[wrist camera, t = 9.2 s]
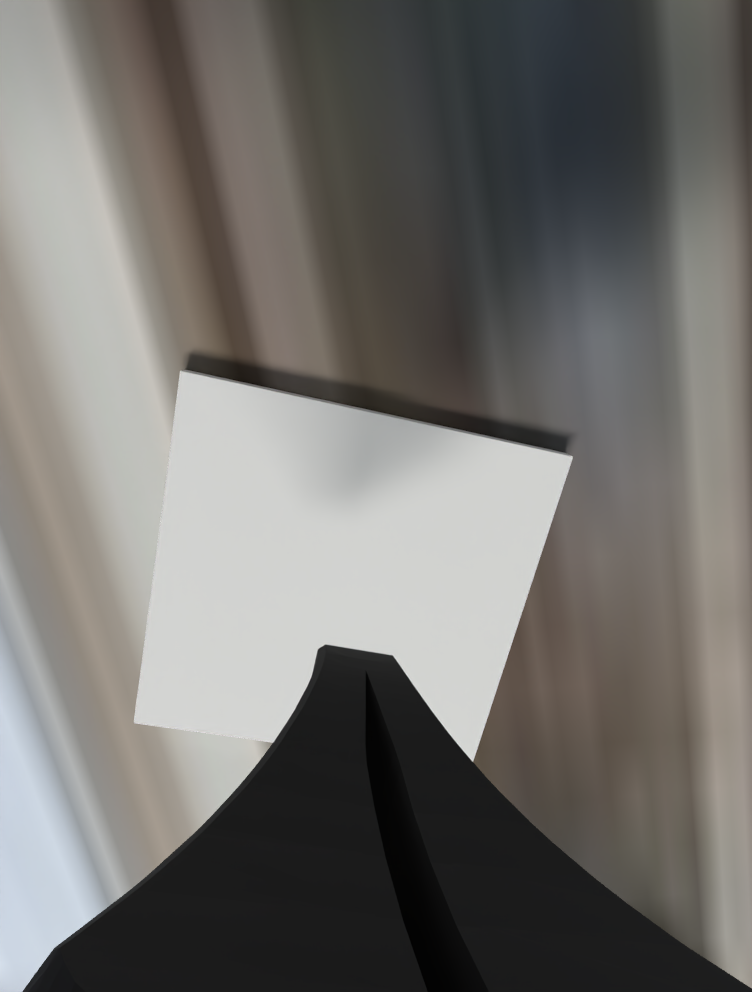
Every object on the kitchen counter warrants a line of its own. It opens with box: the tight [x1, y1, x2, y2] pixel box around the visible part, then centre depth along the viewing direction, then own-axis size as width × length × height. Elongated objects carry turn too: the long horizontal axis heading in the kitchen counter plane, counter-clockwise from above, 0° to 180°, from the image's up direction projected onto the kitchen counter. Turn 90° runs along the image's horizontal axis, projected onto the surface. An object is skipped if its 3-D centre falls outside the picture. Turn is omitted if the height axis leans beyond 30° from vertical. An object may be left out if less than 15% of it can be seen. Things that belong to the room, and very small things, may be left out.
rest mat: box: [134, 370, 573, 762], centre depth 14 cm, size 9×9×1 cm
